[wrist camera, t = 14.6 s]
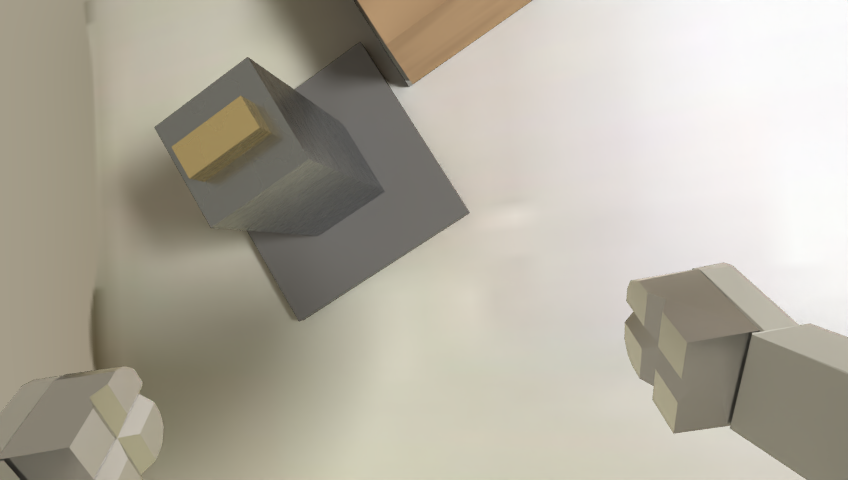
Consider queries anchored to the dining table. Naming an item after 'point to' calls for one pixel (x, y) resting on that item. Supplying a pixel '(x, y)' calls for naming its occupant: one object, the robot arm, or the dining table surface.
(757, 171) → the dining table surface
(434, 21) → the plane body
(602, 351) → the dining table surface
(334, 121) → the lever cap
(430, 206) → the pad
